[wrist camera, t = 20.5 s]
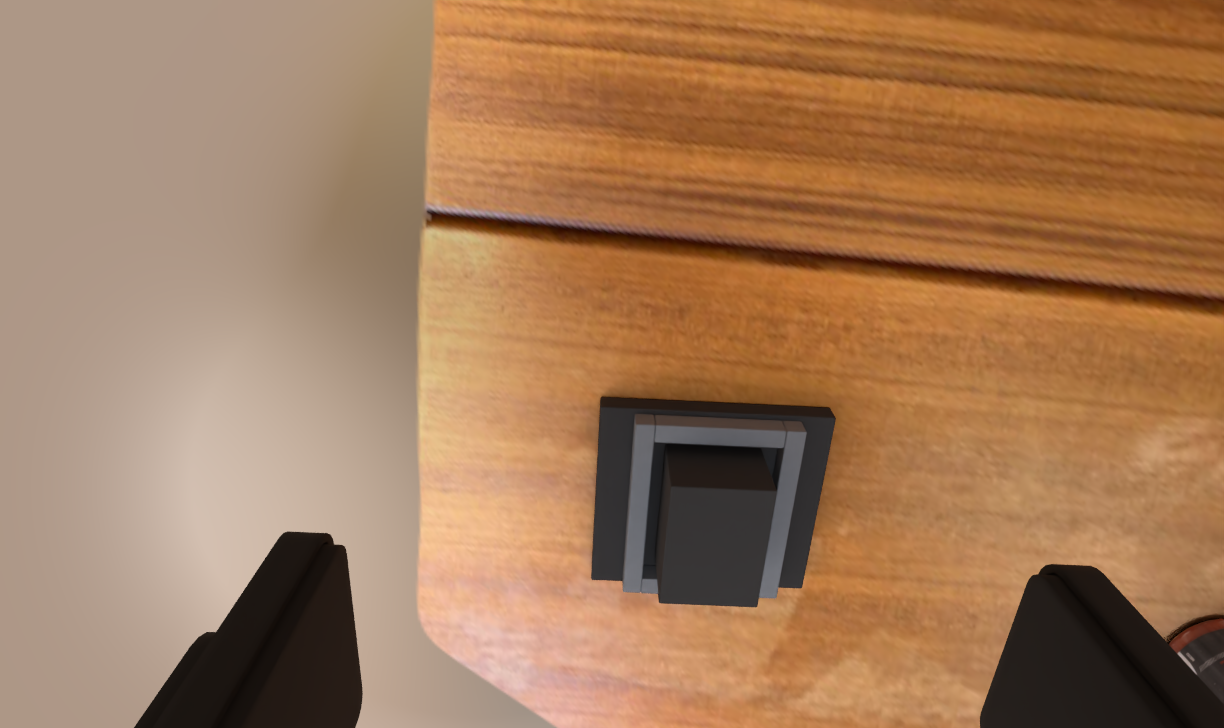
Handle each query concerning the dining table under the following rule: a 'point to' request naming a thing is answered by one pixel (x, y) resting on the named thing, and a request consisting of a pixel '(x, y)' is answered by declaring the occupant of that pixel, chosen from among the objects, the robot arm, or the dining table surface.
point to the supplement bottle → (1204, 653)
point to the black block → (713, 525)
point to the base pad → (648, 425)
